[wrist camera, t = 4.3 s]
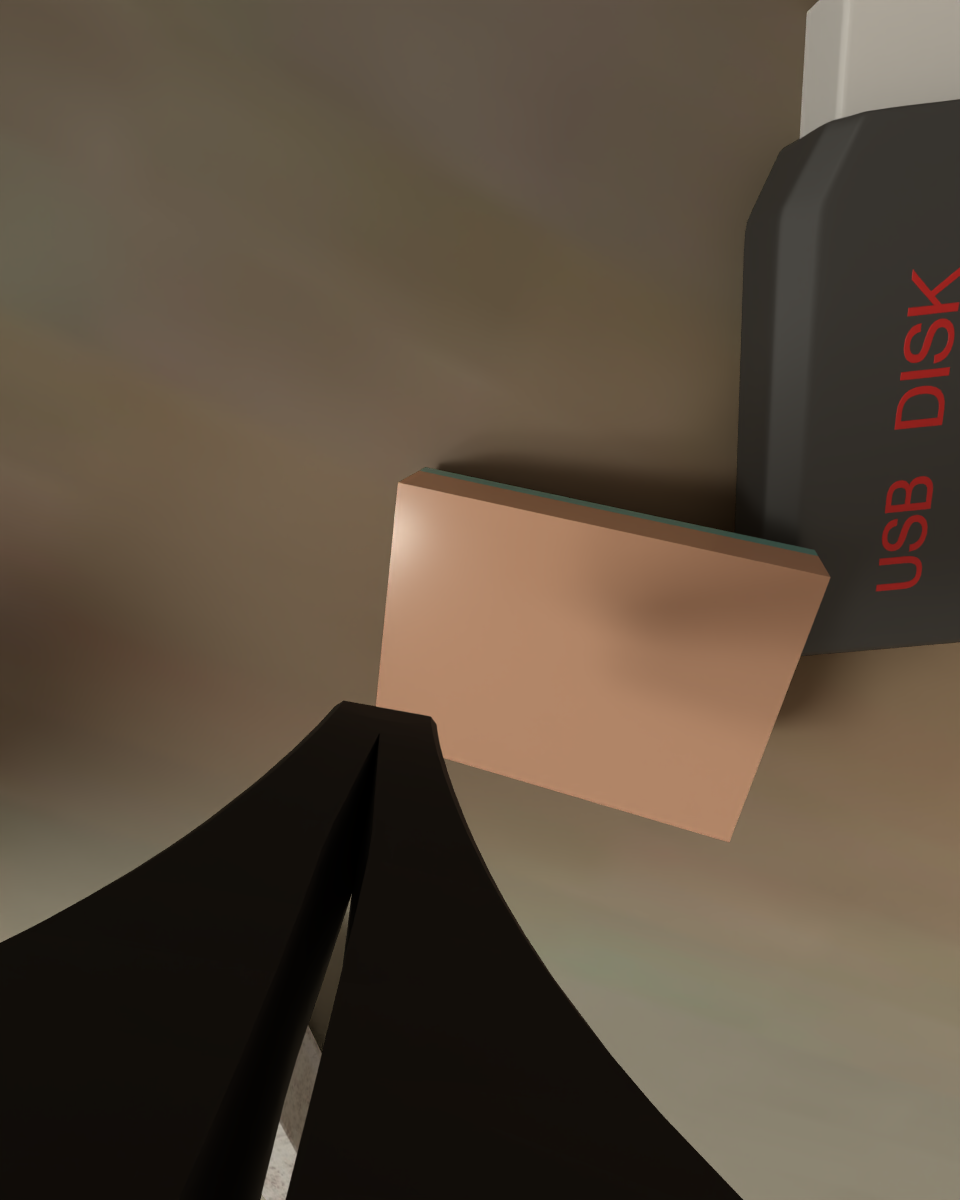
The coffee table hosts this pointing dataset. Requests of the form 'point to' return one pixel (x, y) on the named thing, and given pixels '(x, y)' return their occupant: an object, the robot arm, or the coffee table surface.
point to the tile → (593, 644)
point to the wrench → (292, 1120)
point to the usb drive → (861, 328)
